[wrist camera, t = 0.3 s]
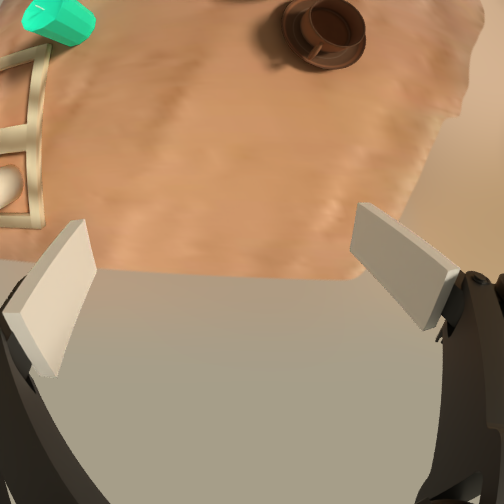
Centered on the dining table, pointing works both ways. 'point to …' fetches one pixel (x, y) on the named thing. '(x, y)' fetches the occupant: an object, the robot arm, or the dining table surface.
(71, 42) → the candle
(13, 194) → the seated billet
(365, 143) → the dining table surface
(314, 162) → the dining table surface
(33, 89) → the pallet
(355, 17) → the cup and saucer
